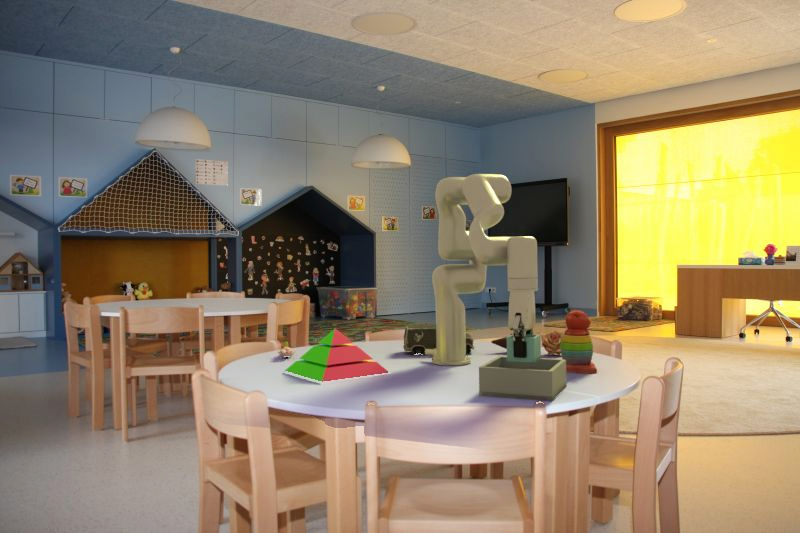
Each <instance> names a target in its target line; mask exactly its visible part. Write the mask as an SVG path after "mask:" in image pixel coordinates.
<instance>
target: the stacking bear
mask: <svg viewBox="0 0 800 533" xmlns="http://www.w3.org/2000/svg"><path fill="white" fill-rule="evenodd" d="M565 324H566V328H567V329H565V331H564V332H563V333H564V334H563V336H562V341H561V354H560V356H561V359H564V360H566V372H567V371H568V372H569V373H575V372H576V374H596V373H597V372H598V369H597V367H596V365H595V364H594V363H593V362H592V359H593V355H594V344H593V340H592V339H593V338H592V337H591V336H592V335H591V333H590V331H589V330H588V328H589V327H590V326H591V324H592V319H591V318H589V317H588V316H587V314H586V313H585V311H582V310H576V309H572V310H570V311H569V312H568V313H567V314H566V316H565ZM568 372H567V373H568Z"/></svg>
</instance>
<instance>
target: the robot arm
mask: <svg viewBox="0 0 800 533" xmlns="http://www.w3.org/2000/svg"><path fill="white" fill-rule="evenodd" d="M512 191H513V190H512V185H511V182H510V180H509V179H508V177H507V176H505V175H503V174H497V173H474V174H471V175H468V176H465V177H464V176H450V177H449V176H448V177H445V178H442V179H440V180H439V181H438V182H437V184H436V188H435V192H434V193H435V203H436V207H437V208H436V209H437V213H438V236H437V237H438V238H437V240H438V242H437V248H438V249H437V251H438V256H439V257H440V258H441V259H442V260H444V261H468V262H469V263H460V264H459V263H455V264H453V263H451V264H448V263H447V264H443V265H442V264H441V265H439V266H437V267H436V268H435V269H433V272H432V275H431V282H432V286H433V293H434V301H435V324H436V348H435V349H426V350H425V351H424V355H425V356H432V358H431V363H432V364H434V365H440V366H462V365H463V366H464V365H468V364H471V362H472V359H471V358H470V357H467V354H466V333H467V332H466V307H465V305H464V302H463V301H462V299H461V298H460V297H459V295H462V294H463V295H464V294H478V293H481V292H483V291H484V289H485V287H486V283H487V271H488V266H507V268H506V269H507V273H506V274H507V291H508V292H509V299H508V318H507V319H508V326H507V327H508V330H510V331H513V332H512V334H513V335H514V336H513V351H514V357H517V358H526V357H527V342H526V341H525V337H526V334H527V335H535V334H534V327H535V326H536V298H535V297H536V296H535V292H538V290H539V284H538V283H539V278H538V276H539V275H538V270H539V269H538V241H537V239H536V238H535V237H534V236H530V235H528V236H527V235H526V236H522V235H520V236H487V235H486V233H485V231H486V230H488V229H490V228H492V227H494V226H495V225H497V224H498V223H500V222H501V220H502V219H503V218H504V215H505V209H504V206H503V205H502V204H505V203H507V202H508V201H509V200H510V199H511V196H512ZM461 205H463V206H468V207H469V210H470V212H471V214H472V217H473V220H472V221H471V223H470V226H469V230H466V224H467V217H466V214H465V211H464V210H463V209H462V206H461Z"/></svg>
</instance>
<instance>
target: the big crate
mask: <svg viewBox="0 0 800 533" xmlns="http://www.w3.org/2000/svg"><path fill="white" fill-rule="evenodd" d="M566 387H567V371H566V360H564V359H562V358H561V359H558V358H544V357H543V358H542V357H541V359H539V360H538V361H536V362H515V361H507V356H501V355H499V356H497V357H495V358H493V359H491V360H489V361H488V362H486V363H483V364H482V365H480V366H479V367H478V390H479V391H478V392H479V394H478V395H479V396H484V397H499V398H509V399H519V400H520V399H521V400H534V401H535V400H536V401H546V400H551V401H550V402H553V401H555V399H556V398H557V397H558V396H559V395H560V394H561V393H562V392H563V391H562V390H565V388H566ZM561 391H562V392H561ZM560 392H561V393H560ZM559 393H560V394H559ZM558 394H559V395H558ZM557 395H558V396H557ZM556 396H557V397H556ZM555 397H556V398H555Z"/></svg>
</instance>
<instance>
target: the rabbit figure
mask: <svg viewBox="0 0 800 533" xmlns="http://www.w3.org/2000/svg"><path fill="white" fill-rule="evenodd" d="M289 345H290V344H289V343H288V341H285V342H284V347H283V348H282V349H280V351H277V354H278V355H279V356H280V355H281V356H280V357H282V356H290V357H292V356H294V355H295V353H296V352H297V351H296V350H293V349H292V348H291V347H290V346H289Z"/></svg>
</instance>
